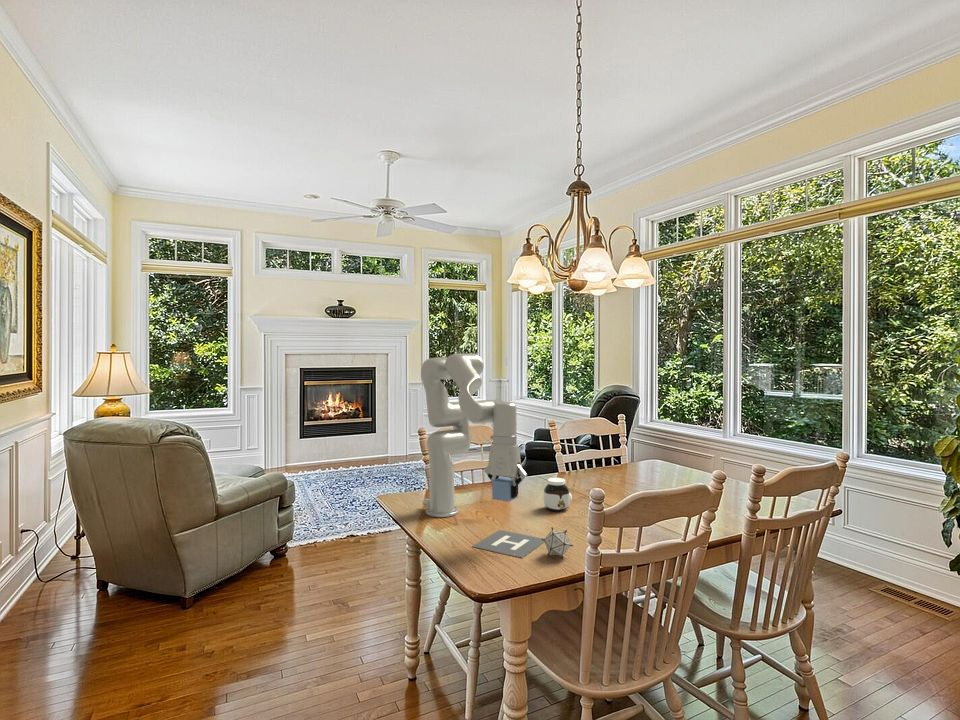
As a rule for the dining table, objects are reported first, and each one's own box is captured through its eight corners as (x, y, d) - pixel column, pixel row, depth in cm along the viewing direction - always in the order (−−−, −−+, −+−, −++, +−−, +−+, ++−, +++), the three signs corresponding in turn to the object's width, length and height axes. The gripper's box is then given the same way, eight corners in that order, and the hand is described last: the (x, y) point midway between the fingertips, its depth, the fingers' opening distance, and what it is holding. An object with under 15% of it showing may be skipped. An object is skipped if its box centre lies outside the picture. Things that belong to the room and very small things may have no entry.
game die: (542, 556, 165) (532, 536, 160) (559, 536, 169) (550, 516, 164) (564, 569, 159) (554, 549, 154) (581, 548, 162) (572, 528, 157)
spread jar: (545, 512, 205) (545, 482, 205) (541, 503, 216) (541, 475, 216) (576, 512, 205) (576, 482, 205) (570, 503, 216) (570, 475, 216)
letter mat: (472, 546, 169) (472, 545, 169) (499, 530, 184) (499, 529, 184) (522, 558, 160) (522, 557, 160) (547, 539, 175) (547, 539, 175)
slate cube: (492, 499, 171) (492, 480, 170) (501, 494, 176) (501, 476, 175) (508, 501, 167) (508, 482, 167) (517, 497, 172) (517, 478, 172)
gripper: (476, 439, 173) (476, 494, 173) (523, 444, 163) (523, 502, 164) (488, 436, 179) (488, 489, 179) (534, 441, 170) (534, 496, 170)
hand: (505, 495), depth 171 cm, fingers closed on slate cube, 6 cm apart
